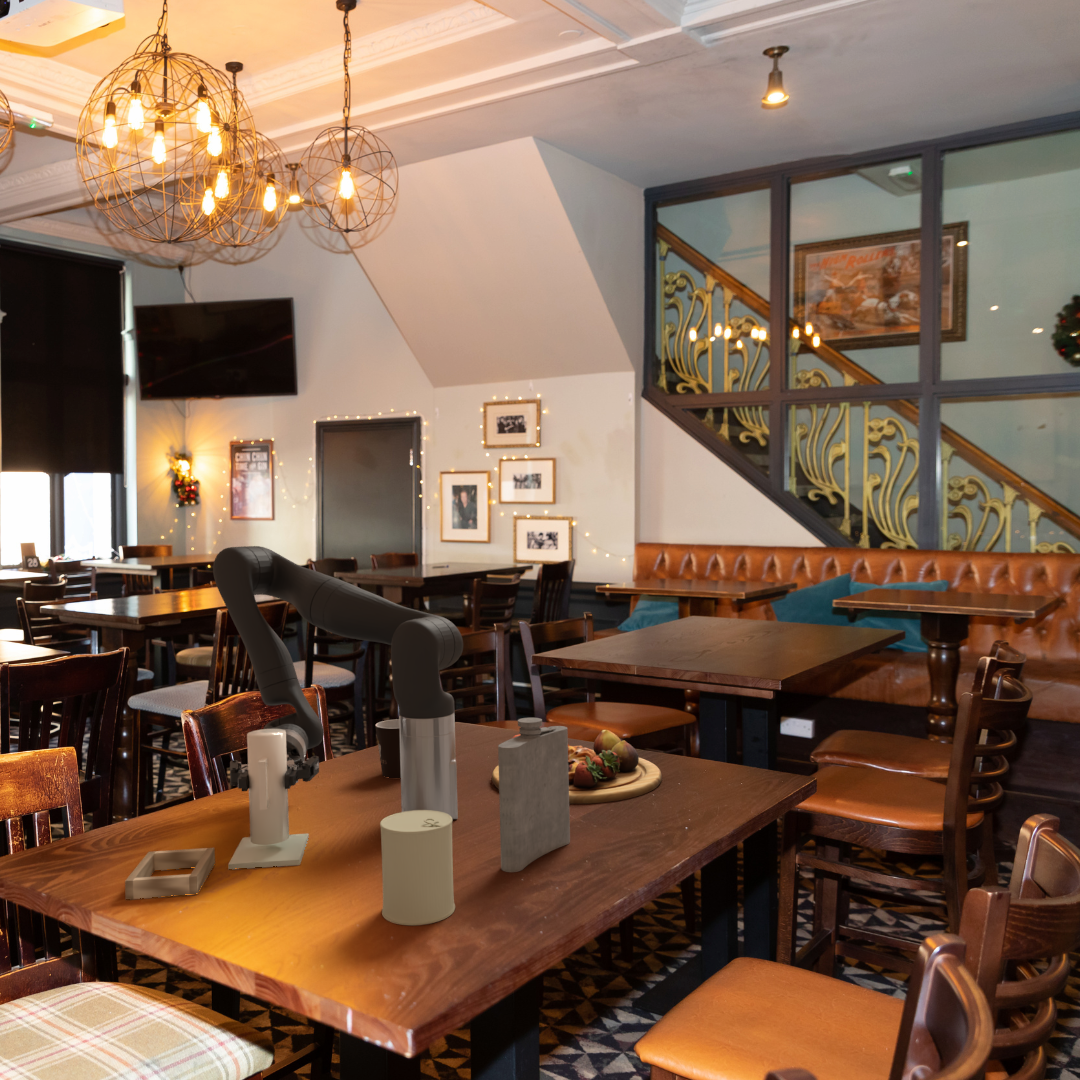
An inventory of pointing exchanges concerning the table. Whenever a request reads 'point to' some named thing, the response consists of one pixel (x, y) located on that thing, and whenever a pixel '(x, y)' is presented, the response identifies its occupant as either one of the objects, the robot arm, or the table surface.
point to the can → (417, 867)
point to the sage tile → (269, 853)
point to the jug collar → (159, 886)
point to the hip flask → (533, 793)
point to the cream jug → (267, 786)
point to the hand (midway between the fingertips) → (265, 783)
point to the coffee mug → (389, 747)
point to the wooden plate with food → (606, 771)
